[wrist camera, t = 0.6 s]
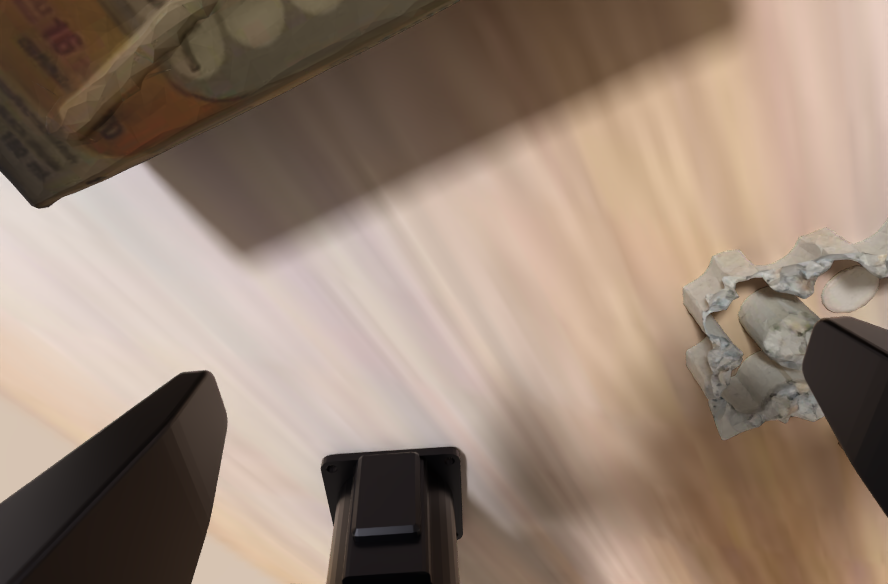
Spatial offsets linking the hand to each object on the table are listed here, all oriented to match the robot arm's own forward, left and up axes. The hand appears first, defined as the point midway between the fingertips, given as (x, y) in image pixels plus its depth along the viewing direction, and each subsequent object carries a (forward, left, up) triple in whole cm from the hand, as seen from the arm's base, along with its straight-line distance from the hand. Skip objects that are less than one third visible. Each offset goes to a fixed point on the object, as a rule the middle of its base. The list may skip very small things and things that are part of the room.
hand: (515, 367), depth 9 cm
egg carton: (-8, -14, -13) cm, 21 cm away
